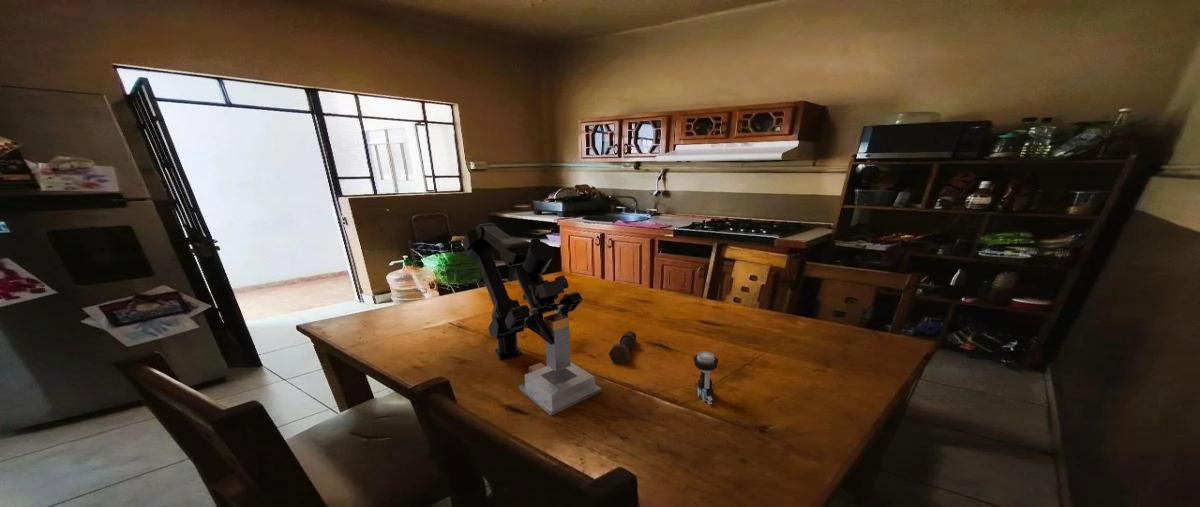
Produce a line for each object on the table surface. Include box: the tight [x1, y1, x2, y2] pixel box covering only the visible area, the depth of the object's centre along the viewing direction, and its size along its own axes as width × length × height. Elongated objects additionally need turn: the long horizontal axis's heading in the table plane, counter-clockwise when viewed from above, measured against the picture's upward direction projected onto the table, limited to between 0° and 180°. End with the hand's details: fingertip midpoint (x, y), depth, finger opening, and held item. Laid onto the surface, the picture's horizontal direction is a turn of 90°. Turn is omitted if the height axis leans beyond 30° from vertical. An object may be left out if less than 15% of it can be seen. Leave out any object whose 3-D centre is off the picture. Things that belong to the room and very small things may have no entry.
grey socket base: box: [518, 361, 602, 417], centre depth 92 cm, size 18×14×4 cm
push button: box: [692, 351, 719, 405], centre depth 85 cm, size 7×5×10 cm
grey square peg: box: [543, 313, 571, 372], centre depth 88 cm, size 4×4×12 cm
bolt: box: [608, 330, 637, 365], centre depth 109 cm, size 6×5×15 cm
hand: (560, 341), depth 87 cm, fingers closed on grey square peg, 4 cm apart
